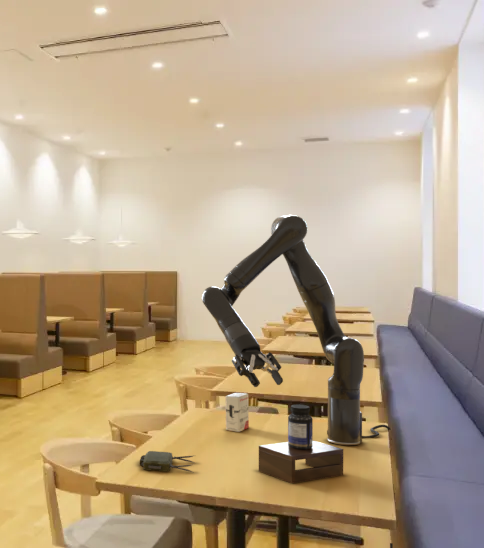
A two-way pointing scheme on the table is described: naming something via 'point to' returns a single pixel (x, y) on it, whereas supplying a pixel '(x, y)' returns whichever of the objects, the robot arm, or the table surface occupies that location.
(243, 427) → the ink box
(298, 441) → the pill bottle
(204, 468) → the table surface
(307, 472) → the shelf
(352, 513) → the table surface
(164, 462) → the landmine
